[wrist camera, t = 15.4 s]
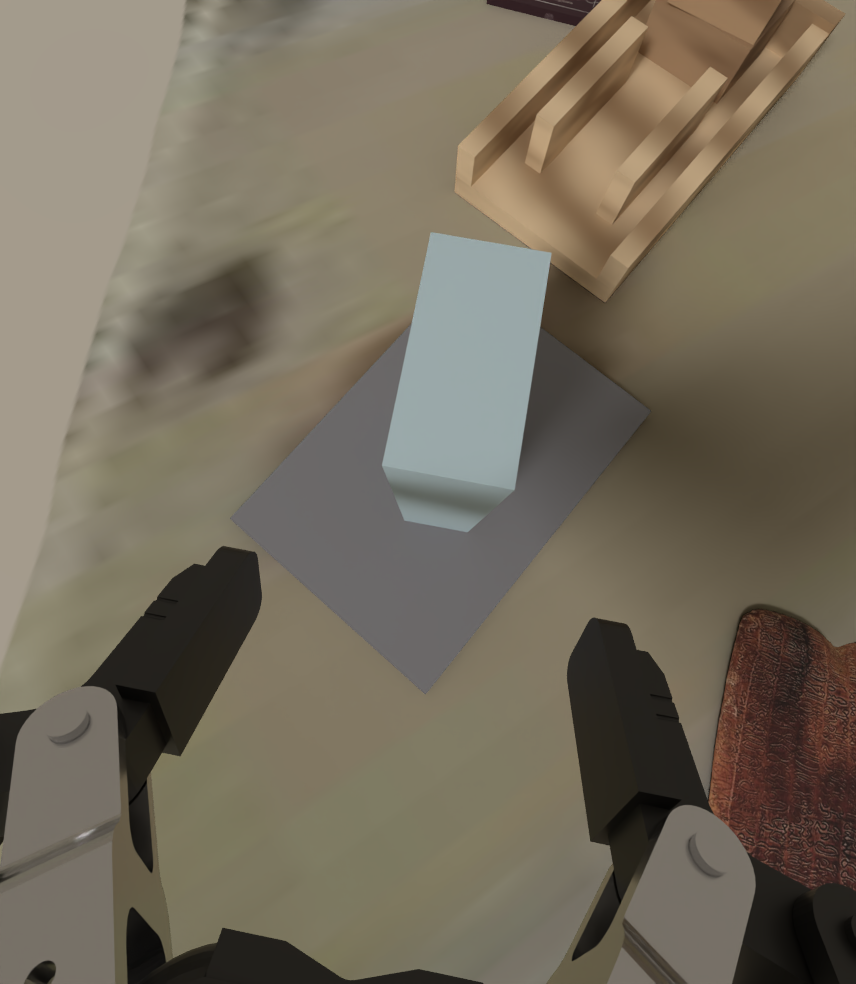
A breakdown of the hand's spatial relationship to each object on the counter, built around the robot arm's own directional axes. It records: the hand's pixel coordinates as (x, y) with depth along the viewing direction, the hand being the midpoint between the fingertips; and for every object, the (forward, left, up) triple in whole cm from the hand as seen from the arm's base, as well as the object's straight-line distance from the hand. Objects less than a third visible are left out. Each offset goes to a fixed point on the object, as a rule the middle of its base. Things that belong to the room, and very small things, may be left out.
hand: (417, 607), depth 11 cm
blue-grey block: (-4, -6, -13) cm, 15 cm away
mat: (-4, -6, -14) cm, 15 cm away
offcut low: (-31, -24, -13) cm, 41 cm away
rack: (-25, -21, -14) cm, 35 cm away
